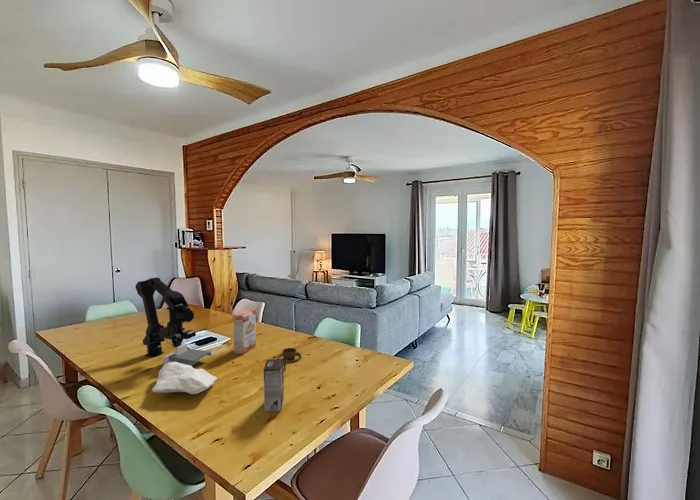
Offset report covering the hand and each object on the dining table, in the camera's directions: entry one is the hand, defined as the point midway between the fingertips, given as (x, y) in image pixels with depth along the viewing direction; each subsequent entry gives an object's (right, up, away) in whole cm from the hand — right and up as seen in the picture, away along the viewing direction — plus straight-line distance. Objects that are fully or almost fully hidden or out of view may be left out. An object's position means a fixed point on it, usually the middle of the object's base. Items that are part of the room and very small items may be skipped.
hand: (177, 350), depth 169 cm
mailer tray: (+3, -6, 0) cm, 7 cm away
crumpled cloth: (+16, -8, -28) cm, 33 cm away
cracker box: (+29, -5, +17) cm, 34 cm away
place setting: (+53, -7, +1) cm, 54 cm away
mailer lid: (+7, -3, -2) cm, 8 cm away
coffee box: (+57, -9, -40) cm, 71 cm away
